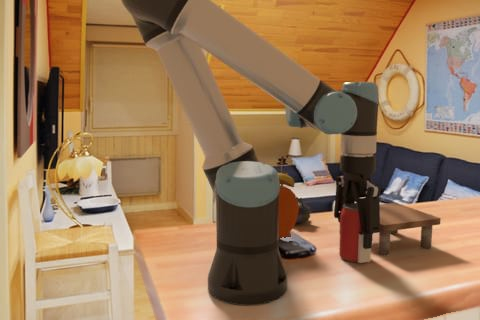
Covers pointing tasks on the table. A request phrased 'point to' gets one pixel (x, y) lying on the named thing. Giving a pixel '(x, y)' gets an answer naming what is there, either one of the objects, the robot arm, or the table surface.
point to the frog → (303, 211)
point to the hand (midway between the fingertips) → (354, 255)
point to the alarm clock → (286, 205)
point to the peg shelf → (404, 224)
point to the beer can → (349, 232)
